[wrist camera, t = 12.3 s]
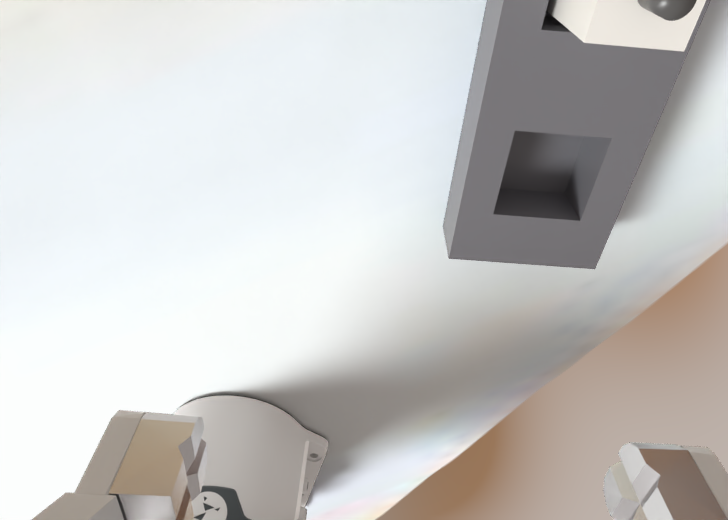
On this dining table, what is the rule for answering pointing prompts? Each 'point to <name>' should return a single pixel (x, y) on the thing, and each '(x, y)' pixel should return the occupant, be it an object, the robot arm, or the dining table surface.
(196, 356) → the dining table surface
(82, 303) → the dining table surface
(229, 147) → the dining table surface
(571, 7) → the plug
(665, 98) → the power strip
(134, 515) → the robot arm
